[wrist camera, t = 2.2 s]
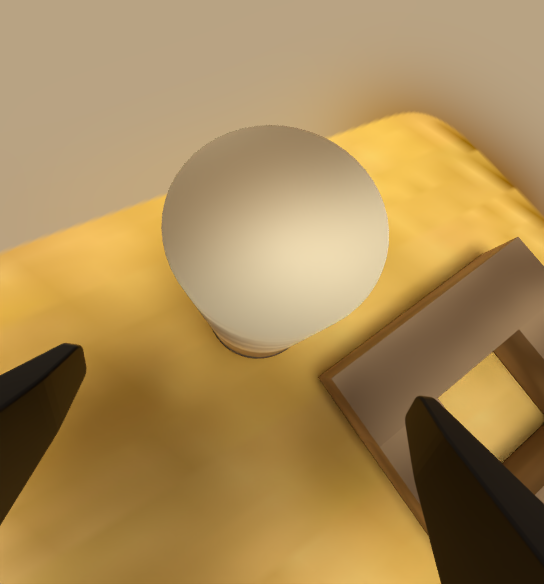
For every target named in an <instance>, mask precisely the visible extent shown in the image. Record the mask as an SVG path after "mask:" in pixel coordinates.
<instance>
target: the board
mask: <svg viewBox="0 0 544 584" xmlns="http://www.w3.org/2000/svg"><path fill="white" fill-rule="evenodd" d="M493 351H494V353H495V354H496V355H497V356H498V358H499V359H500V360H501V361H502V363H503V364H504V365H505V366H506V368H507V369H508V370H509V371H510V373H511V374H512V375H513V376H514V378H515V379H516V380H517V381H518V383H519V384H520V385H521V386H522V388H523V389H524V390H525V391H526V393H527V394H528V395H529V396H530V398H531V399H532V400H533V401H534V403H535V404H536V405H537V406H538V408H539V409H540V410H541V411H542V413H543V414H544V266H543V265H542V264H541V263H540V261H539V260H538V259H537V258H536V257H535V256H534V254H533V253H532V252H531V251H530V250H529V249H528V248H527V246H526V245H525V244H524V243H523V242H522V241H521V239H520V238H519V237H517V238H514V239H512V240H510V241H508V242H506V243H504V244H502V245H500V246H498V247H496V248H494V249H492V250H490V251H488V252H486V253H484V254H482V255H480V256H479V257H478V258H476V259H475V260H474V261H472V262H471V263H470V264H468V265H467V266H466V267H464V268H463V269H462V270H460V271H459V272H458V273H456V274H455V275H454V276H452V277H451V278H450V279H448V280H447V281H446V282H444V283H443V284H442V285H440V286H439V287H438V288H436V289H435V290H434V291H432V292H431V293H430V294H428V295H427V296H426V297H424V298H423V299H422V300H420V301H419V302H418V303H416V304H415V305H414V306H412V307H411V308H410V309H408V310H407V311H406V312H404V313H403V314H402V315H400V316H399V317H398V318H397V319H395V320H394V321H393V322H391V323H390V324H389V325H387V326H386V327H385V328H383V329H382V330H381V331H379V332H378V333H377V334H375V335H374V336H373V337H371V338H370V339H369V340H367V341H366V342H365V343H363V344H362V345H361V346H359V347H358V348H357V349H355V350H354V351H353V352H351V353H350V354H349V355H347V356H346V357H345V358H343V359H342V360H341V361H339V362H338V363H337V364H335V365H334V366H333V367H331V368H330V369H329V370H327V371H326V372H325V373H323V374H322V375H321V376H319V377H318V378H319V379H320V381H321V382H322V384H323V385H324V387H325V388H326V389H327V391H328V392H329V394H330V395H331V397H332V398H333V399H334V401H335V402H336V404H337V405H338V407H339V408H340V410H341V411H342V412H343V414H344V415H345V417H346V418H347V420H348V421H349V422H350V424H351V425H352V427H353V428H354V430H355V431H356V432H357V434H358V435H359V437H360V438H361V440H362V441H363V443H364V444H365V445H366V447H367V448H368V450H369V451H370V453H371V454H372V455H373V457H374V458H375V460H376V461H377V463H378V464H379V465H380V467H381V468H382V470H383V471H384V473H385V474H386V476H387V477H388V478H389V480H390V481H391V483H392V484H393V486H394V487H395V488H396V490H397V491H398V493H399V494H400V496H401V497H402V498H403V500H404V501H405V503H406V504H407V506H408V507H409V509H410V510H411V511H412V513H413V514H414V516H415V517H416V519H417V520H418V521H419V523H420V524H421V526H422V527H423V529H424V530H425V531H426V533H427V534H428V531H427V528H426V524H425V520H424V516H423V512H422V508H421V505H420V501H419V497H418V493H417V489H416V485H415V481H414V476H413V471H412V465H411V458H410V452H409V445H408V439H407V432H406V426H405V416H406V413H407V411H408V410H409V408H410V406H411V405H412V403H413V401H414V399H415V398H416V397H417V396H420V395H421V396H428V397H432V398H434V399H436V400H437V401H438V402H439V403H440V404H441V405H442V403H441V402H440V401H439V399H438V397H439V396H441V395H442V394H443V393H444V392H445V391H447V390H448V389H449V388H450V387H451V386H452V385H454V384H455V383H456V382H457V381H458V380H460V379H461V378H462V377H463V376H464V375H465V374H467V373H468V372H469V371H470V370H471V369H473V368H474V367H475V366H476V365H477V364H478V363H480V362H481V361H482V360H483V359H484V358H486V357H487V356H488V355H489V354H490V353H491V352H493ZM442 406H443V405H442ZM443 407H444V406H443ZM444 408H445V407H444ZM502 464H503V465H504V466H505V467H506V468H507V469H508V470H510V471H511V472H512V473H513V474H514V475H515V476H516V477H517V478H518V479H519V480H520V481H521V482H522V483H523V484H524V485H525V486H526V487H527V488H528V489H529V490H530V491H531V492H532V493H533V494H534V495H535V496H537V497H538V498H539V499H540V500H541V501H542V502H543V503H544V424H543V425H542V426H541V427H540V428H539V429H538V430H537V431H536V432H535V433H534V434H533V435H532V436H531V437H530V438H529V439H528V440H527V441H526V442H524V443H523V444H522V445H521V446H520V447H519V448H518V449H517V450H516V451H515V452H514V453H513V454H512V455H511V456H510V457H509V458H508V459H507V460H506V461H505V462H504V463H502ZM428 536H429V535H428Z"/></svg>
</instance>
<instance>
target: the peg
mask: <svg viewBox="0 0 544 584" xmlns="http://www.w3.org/2000/svg"><path fill="white" fill-rule="evenodd" d="M162 238H163V245H164V249H165V254H166V257H167V260H168V262H169V265H170V268H171V270H172V272H173V274H174V275H175V277H176V279H177V281H178V283H179V284H180V285H181V287H182V288H183V290H184V291H185V292H186V294H187V295H188V296H189V298H190V299H191V300H192V302H193V303H194V305H195V306H196V307H197V309H198V310H199V311H200V313H201V314H202V315H203V317H204V318H205V319H206V321H207V322H208V324H209V325H210V326H211V328H212V330H213V332H214V333H215V335H216V337H217V338H218V339H219V340H220V342H221V343H222V344H223V345H224V346H225V347H227V348H228V349H229V350H231V351H232V352H234V353H236V354H238V355H241V356H244V357H248V358H255V359H256V358H268V357H272V356H275V355H277V354H280V353H282V352H283V351H285V350H287V349H288V348H289V347H291V346H293V345H294V344H296V343H298V342H300V341H302V340H304V339H306V338H308V337H310V336H312V335H314V334H316V333H318V332H319V331H321V330H323V329H325V328H327V327H329V326H331V325H333V324H335V323H336V322H338V321H340V320H341V319H343V318H345V317H346V316H348V315H349V314H350V313H351V312H352V311H354V310H355V309H356V308H357V307H358V306H359V305H360V304H361V303H362V302H363V301H364V300H365V299H366V298H367V297H368V295H369V294H370V292H371V291H372V289H373V288H374V286H375V285H376V283H377V281H378V279H379V277H380V275H381V273H382V271H383V267H384V264H385V261H386V258H387V252H388V246H389V227H388V218H387V214H386V210H385V206H384V203H383V200H382V198H381V195H380V193H379V191H378V189H377V187H376V185H375V184H374V182H373V180H372V179H371V177H370V176H369V174H368V173H367V172H366V170H365V169H364V168H363V167H362V166H361V165H360V164H359V162H358V161H357V160H356V159H355V158H353V157H352V156H351V155H350V154H349V153H348V152H347V151H345V150H344V149H342V148H341V147H339V146H338V145H337V144H335V143H333V142H331V141H330V140H328V139H326V138H324V137H322V136H319V135H317V134H314V133H312V132H309V131H305V130H302V129H298V128H293V127H287V126H275V125H266V126H254V127H248V128H243V129H239V130H236V131H233V132H229V133H227V134H225V135H223V136H220V137H218V138H216V139H215V140H213V141H211V142H210V143H208V144H206V145H205V146H203V147H202V148H201V149H200V150H198V151H197V152H196V153H194V154H193V155H192V157H191V158H190V159H189V160H188V161H187V162H186V163H185V164H184V165H183V167H182V168H181V170H180V171H179V172H178V174H177V175H176V177H175V179H174V181H173V182H172V184H171V186H170V188H169V191H168V194H167V197H166V199H165V204H164V208H163V213H162Z"/></svg>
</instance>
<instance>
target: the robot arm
mask: <svg viewBox="0 0 544 584" xmlns="http://www.w3.org/2000/svg"><path fill="white" fill-rule="evenodd" d="M85 374H86V363H85V357H84V352H83V348H82V347H81V346H80V345H77V344H70V343H63V344H61V345H59V346H57V347H55V348H53V349H51V350H49V351H47V352H45V353H43V354H41V355H39V356H37V357H35V358H33V359H31V360H29V361H27V362H25V363H24V364H22V365H20V366H18V367H16V368H14V369H12V370H10V371H8V372H6V373H4V374H2V375H0V525H1V523H2V522H3V520H4V519H5V517H6V515H7V514H8V512H9V510H10V509H11V507H12V506H13V504H14V502H15V501H16V499H17V497H18V496H19V494H20V493H21V491H22V489H23V488H24V486H25V485H26V483H27V481H28V480H29V478H30V476H31V475H32V473H33V472H34V470H35V468H36V467H37V465H38V463H39V462H40V460H41V459H42V457H43V455H44V454H45V452H46V450H47V449H48V447H49V446H50V444H51V442H52V441H53V439H54V437H55V436H56V434H57V432H58V430H59V429H60V427H61V425H62V423H63V421H64V419H65V417H66V414H67V412H68V410H69V408H70V406H71V404H72V402H73V400H74V398H75V396H76V394H77V392H78V390H79V387H80V385H81V383H82V381H83V379H84V377H85ZM405 426H406V432H407V439H408V445H409V452H410V458H411V465H412V471H413V476H414V481H415V485H416V489H417V493H418V497H419V501H420V505H421V508H422V512H423V516H424V520H425V524H426V528H427V531H428V535H429V539H430V543H431V547H432V551H433V554H434V558H435V562H436V566H437V570H438V574H439V577H440V581H441V584H544V503H543V502H542V501H541V500H540V499H539V498H538V497H537V496H535V495H534V494H533V493H532V492H531V491H530V490H529V489H528V488H527V487H526V486H525V485H524V484H523V483H522V482H521V481H520V480H519V479H518V478H517V477H516V476H515V475H514V474H513V473H512V472H511V471H510V470H508V469H507V468H506V467H505V466H504V465H503V464H502V463H501V462H500V461H499V460H498V459H497V458H496V457H495V456H494V455H493V454H492V453H491V452H490V451H489V450H488V449H487V448H486V447H485V446H484V445H483V444H481V443H480V442H479V441H478V440H477V439H476V438H475V437H474V436H473V435H472V434H471V433H470V432H469V431H468V430H467V429H466V428H465V427H464V426H463V425H462V424H461V423H460V422H459V421H458V420H457V419H456V418H454V417H453V416H452V415H451V414H450V413H449V412H448V411H447V410H446V409H445V408H444V407H443V406H442V405H441V404H440V403H439V402H438V401H437V400H436V399H434V398H432V397H428V396H421V395H420V396H417V397H416V398H415V399H414V401H413V403H412V405H411V406H410V408H409V410H408V411H407V413H406V416H405Z"/></svg>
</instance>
